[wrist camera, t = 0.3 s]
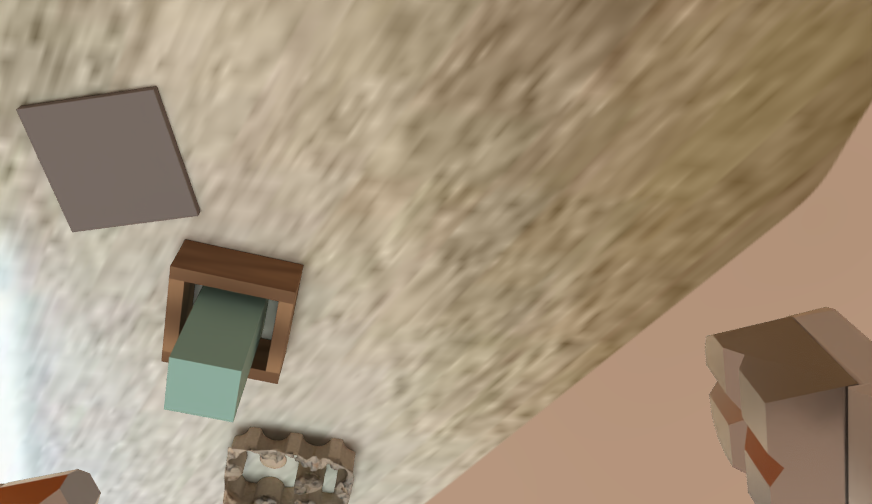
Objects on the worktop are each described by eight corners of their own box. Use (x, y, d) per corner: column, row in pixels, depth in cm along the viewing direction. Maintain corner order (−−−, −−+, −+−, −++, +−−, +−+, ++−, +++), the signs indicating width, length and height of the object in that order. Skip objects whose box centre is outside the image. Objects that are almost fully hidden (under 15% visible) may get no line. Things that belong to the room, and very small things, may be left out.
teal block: (211, 268, 55) (169, 357, 46) (271, 281, 55) (241, 371, 47) (205, 316, 57) (163, 409, 48) (263, 328, 57) (233, 422, 49)
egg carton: (227, 476, 66) (215, 515, 63) (236, 415, 62) (224, 453, 59) (347, 498, 68) (341, 536, 64) (363, 439, 64) (358, 477, 60)
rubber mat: (20, 106, 48) (16, 109, 48) (156, 86, 48) (153, 89, 47) (75, 227, 53) (72, 232, 52) (200, 211, 52) (197, 215, 52)
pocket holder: (185, 239, 53) (170, 266, 50) (303, 265, 54) (295, 292, 51) (175, 331, 58) (161, 361, 55) (285, 353, 59) (277, 383, 56)
